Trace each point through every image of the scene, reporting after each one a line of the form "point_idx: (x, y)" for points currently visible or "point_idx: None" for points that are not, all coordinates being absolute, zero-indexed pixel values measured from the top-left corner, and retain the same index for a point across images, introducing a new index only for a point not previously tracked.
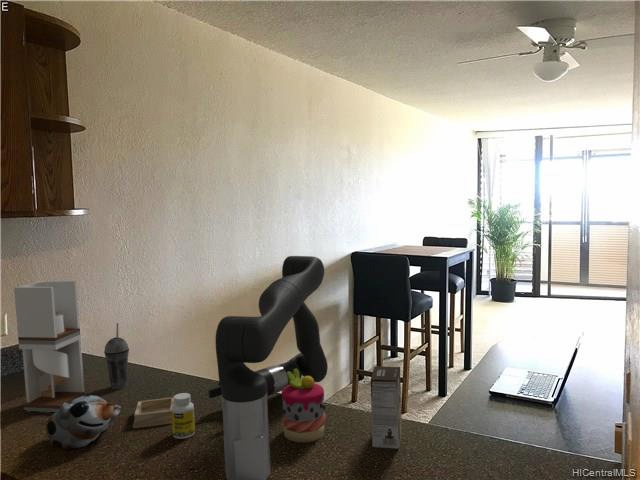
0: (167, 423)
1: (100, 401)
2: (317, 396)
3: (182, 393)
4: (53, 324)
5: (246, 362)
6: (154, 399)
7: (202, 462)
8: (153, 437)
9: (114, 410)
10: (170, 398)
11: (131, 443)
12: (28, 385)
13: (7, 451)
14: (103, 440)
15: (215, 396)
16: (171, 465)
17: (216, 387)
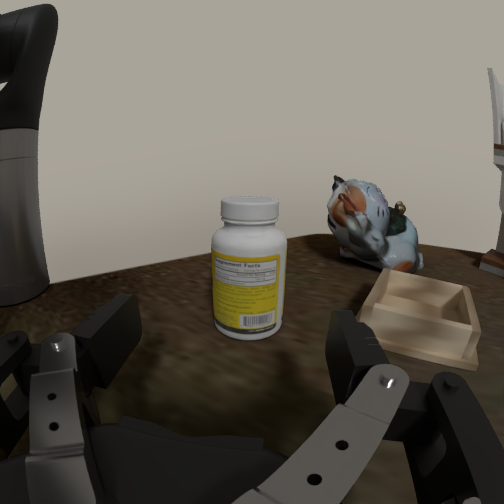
0: None
1: (349, 189)
2: None
3: (269, 201)
4: (493, 122)
5: (4, 82)
6: (472, 303)
7: (106, 288)
8: (295, 295)
9: (348, 216)
10: (470, 323)
11: (301, 276)
12: (500, 226)
13: None
14: (347, 267)
15: (330, 375)
16: (157, 273)
17: (363, 341)
